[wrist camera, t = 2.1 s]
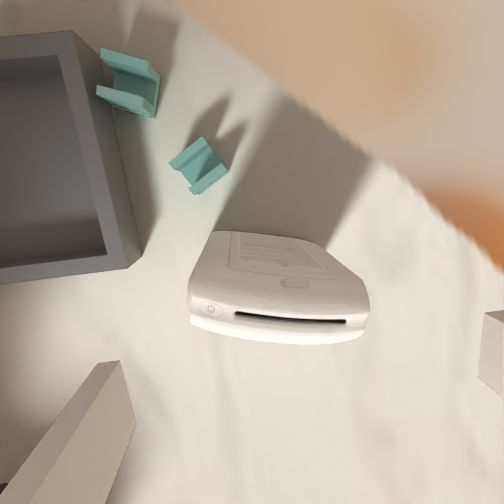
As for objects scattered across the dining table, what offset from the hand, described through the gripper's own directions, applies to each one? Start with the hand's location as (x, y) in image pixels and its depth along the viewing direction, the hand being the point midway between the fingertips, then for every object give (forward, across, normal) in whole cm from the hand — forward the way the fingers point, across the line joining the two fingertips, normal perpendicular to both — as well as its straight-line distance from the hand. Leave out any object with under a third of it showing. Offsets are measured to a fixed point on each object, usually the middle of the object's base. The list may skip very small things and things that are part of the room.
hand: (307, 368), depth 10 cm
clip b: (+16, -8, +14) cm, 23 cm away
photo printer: (+16, 0, 0) cm, 16 cm away
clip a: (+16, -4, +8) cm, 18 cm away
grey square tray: (+16, -18, +9) cm, 26 cm away
